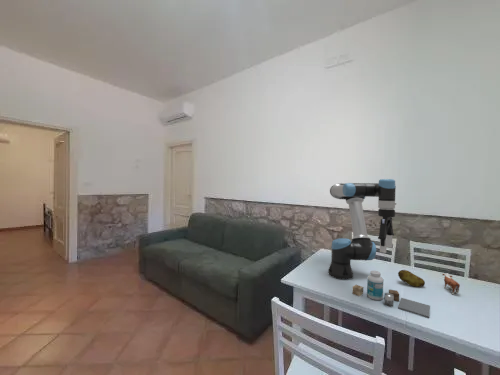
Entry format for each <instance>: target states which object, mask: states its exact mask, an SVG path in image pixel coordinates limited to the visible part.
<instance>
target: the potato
mask: <svg viewBox="0 0 500 375" xmlns="http://www.w3.org/2000/svg"><path fill="white" fill-rule="evenodd" d="M397 274H398V275H397V276H398V277H399V279H400V280H401V282H404V283H406V284H407V285H409V286H411V287H416V288H419V287H420V288H421V287H424V286H425V284H426V282H425V280H424V279H423V278H421V277H420V276H418V275H416V274H415V273H412V272H411V271H409V270H408V269H407V270H406V269H402V270H399V271H398V272H397Z"/></svg>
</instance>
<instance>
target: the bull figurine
mask: <svg viewBox="0 0 500 375" xmlns="http://www.w3.org/2000/svg"><path fill="white" fill-rule="evenodd" d="M441 275H442V276H444V279H443V280H444V286H443V289H447V286H448V287H449V291H452V292H451V295H455V294H458V293H460V283H459V282H458V281H456V280H454V279H453V275H450V274H449V273H447V272H446V273H442V274H441Z"/></svg>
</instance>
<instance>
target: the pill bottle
mask: <svg viewBox="0 0 500 375" xmlns="http://www.w3.org/2000/svg"><path fill="white" fill-rule="evenodd" d="M381 274H382V273H381V272H380V271H378V270H371V271H370V274H369V275H368V276H367V280H366V281H367V283H366V284H367V285H366V286H367V287H366V288H367V290H366V291H367V292H366V293H367V294H366V295H367V296H366V297H368V298H369V299H371V300H374V301H381V300H384V299H383V298H384V279H383V277H382V276H381Z"/></svg>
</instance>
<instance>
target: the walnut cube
mask: <svg viewBox="0 0 500 375" xmlns="http://www.w3.org/2000/svg"><path fill="white" fill-rule="evenodd" d="M388 293H390V294H393V295H394V302H400V293H399V291H398V290H394V289H388Z"/></svg>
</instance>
